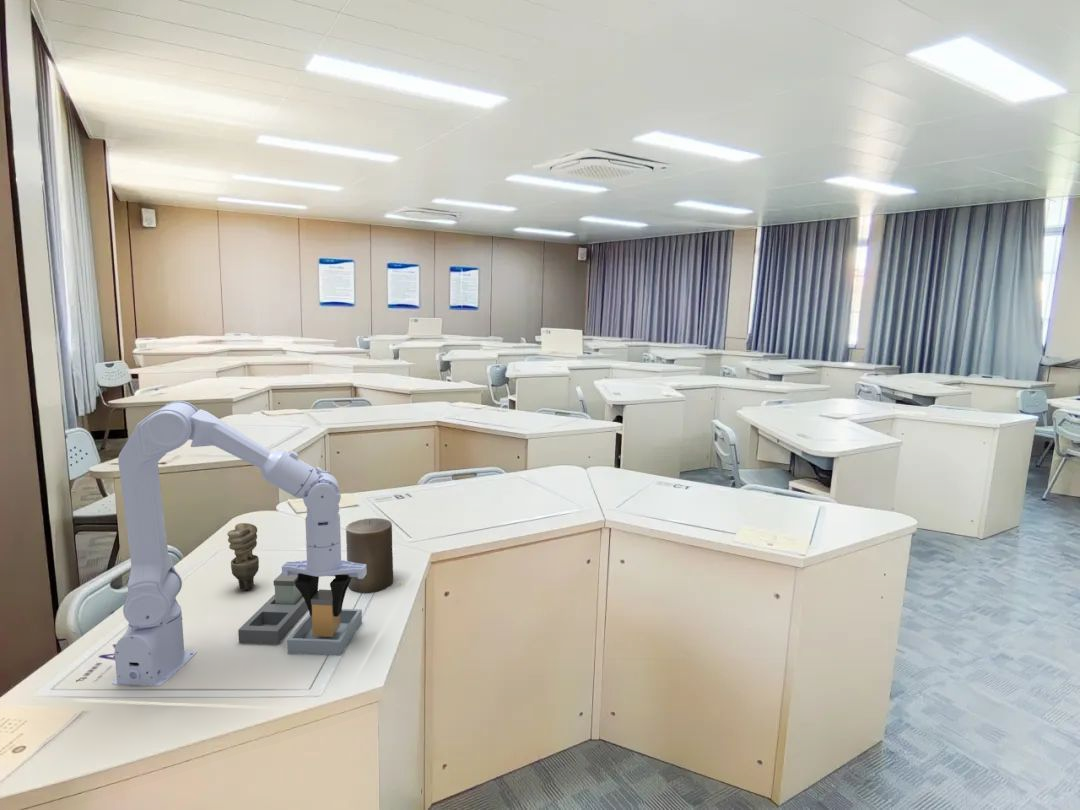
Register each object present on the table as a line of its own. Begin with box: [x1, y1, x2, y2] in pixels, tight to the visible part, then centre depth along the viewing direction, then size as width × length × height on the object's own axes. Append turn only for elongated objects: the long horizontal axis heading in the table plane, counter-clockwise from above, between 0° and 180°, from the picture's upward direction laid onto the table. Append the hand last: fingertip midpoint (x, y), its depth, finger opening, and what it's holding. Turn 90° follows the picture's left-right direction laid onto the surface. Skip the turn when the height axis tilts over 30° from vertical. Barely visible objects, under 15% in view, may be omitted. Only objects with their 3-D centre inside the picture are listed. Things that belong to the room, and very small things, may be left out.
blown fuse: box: [311, 588, 340, 637], centre depth 105 cm, size 4×4×7 cm
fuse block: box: [237, 593, 309, 645], centre depth 110 cm, size 16×7×3 cm, turn 179°
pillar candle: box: [345, 517, 394, 594], centre depth 126 cm, size 10×10×15 cm
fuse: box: [273, 572, 302, 605], centre depth 114 cm, size 4×4×7 cm
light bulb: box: [226, 522, 260, 592], centre depth 122 cm, size 6×6×15 cm
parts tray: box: [286, 608, 363, 656], centre depth 105 cm, size 11×9×3 cm
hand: (325, 613), depth 105 cm, fingers closed on blown fuse, 4 cm apart
